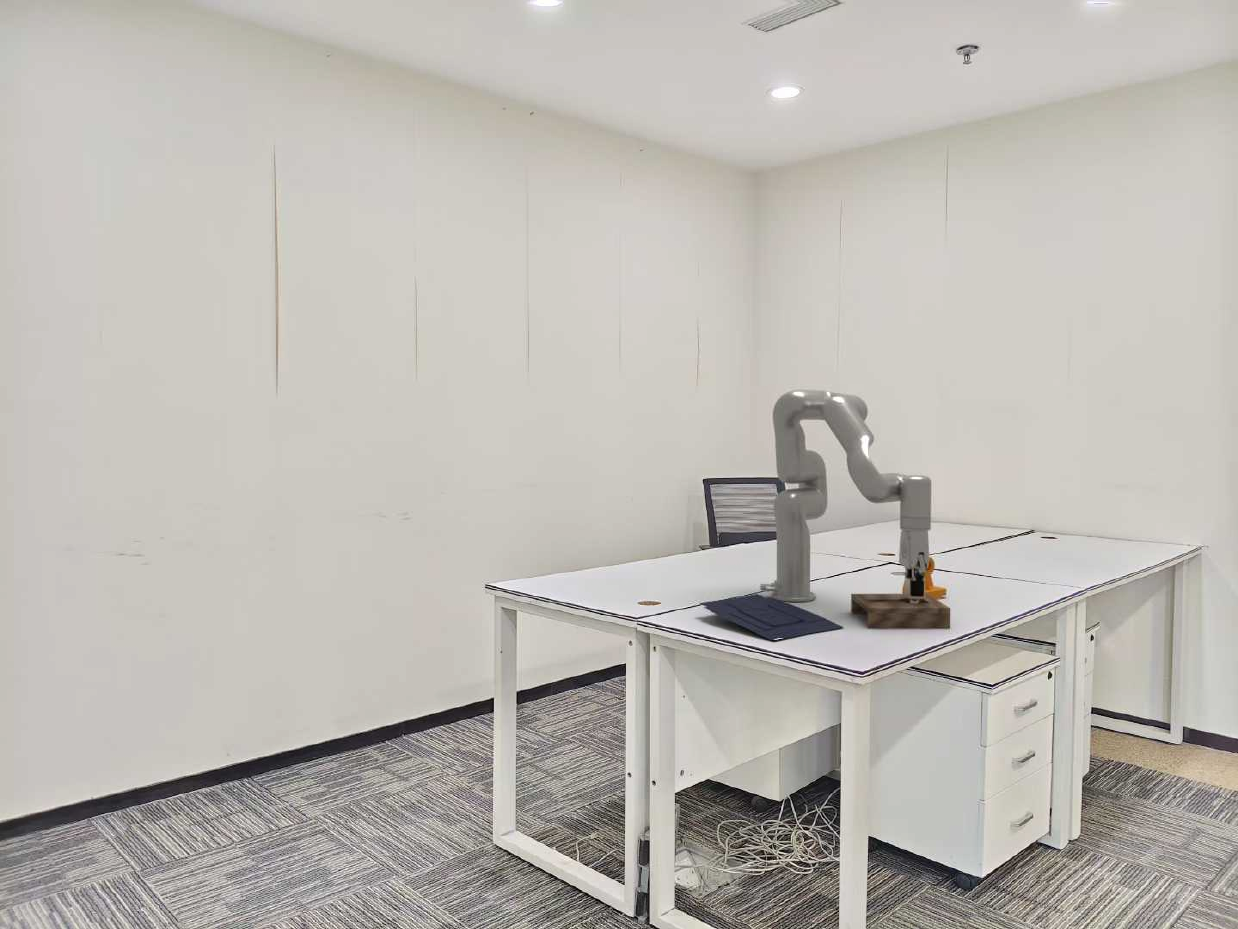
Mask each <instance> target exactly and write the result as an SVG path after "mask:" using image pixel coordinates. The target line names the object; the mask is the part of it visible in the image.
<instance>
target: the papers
mask: <svg viewBox="0 0 1238 929" xmlns="http://www.w3.org/2000/svg"><path fill="white" fill-rule="evenodd" d="M699 604H700V605H702V606H703V608H704V609H706V610H708V611H710V612H711V613H713V614H714V615H717V616H719V617H722V618H724V619H726V620H729V621H730V622H733V623H735V624H737V625H739V626H741V627H744V628H745V629H747V630H750V631H752V632H753V633H755V634H757V635H759V636H761V637H764V638H765V639H768V640H770V641H772V640H774V639H777V638H786V639H791V638H795V637H799V636H804V635H808V634H813V633H818V632H825V631H830V630H836V629H842V628H844V626H843V625H840V624H838V623H836V622H834V621H831V620H829V619H827V618H826V617H823V616H820V615H818V614H815V613H813V612H812V611H811V612H810V611H808V610H806V609H803V608H801V607H798V606H797V605H794V604H791V603H789V602H786V601H781V600H776V599H774V598H772V597H771V596H762V595H760V594H758V593H756V594H749V595H743V596H738V597H737V596H736V597H732V598H731V597H730V598H724V599H718V600H712V601H704V602H699Z"/></svg>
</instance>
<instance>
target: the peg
mask: <svg viewBox="0 0 1238 929" xmlns="http://www.w3.org/2000/svg"><path fill="white" fill-rule="evenodd" d="M904 581H905V588H904V596H906V597H907V598H909V599H910V603H919V599H925V580H924V596H923V597H912V596H911V581H913V580H912V577H905V576H904Z"/></svg>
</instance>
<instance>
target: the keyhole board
mask: <svg viewBox="0 0 1238 929" xmlns="http://www.w3.org/2000/svg"><path fill="white" fill-rule="evenodd" d="M850 595H851V596H850V598H851V599H850V601H851V602H850V613H851V614H867V628H868V629H951V607H950V606H947V605H946V604H945V603H943V602H941V601H939V599H938V600H936V599H934V598H933V597H931V596H929V595H928V594H925V599H919V603H910V599H909V598H907V597H906V596H904V594H902V593H851V594H850Z"/></svg>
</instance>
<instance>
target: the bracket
mask: <svg viewBox="0 0 1238 929" xmlns="http://www.w3.org/2000/svg"><path fill="white" fill-rule="evenodd" d="M917 569H919V567H917ZM934 571H935V560H934V559H933V557H930V556H929V565H928V568H927V569H926V573H925V575H924V578H925V594H928V595H929V596H931V597H933V598H934V599H936V600H938V601H939V600H941V599H943V597H944V596H945V597H946V596H947V588H946V587H940V586H935V585H934V583H933V582H934V581H933V579H932V574H933V573H934ZM917 572H919V571H917ZM904 588H905V580H904V582H903V585H902V589H901V590H902V593H901V594H904Z"/></svg>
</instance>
